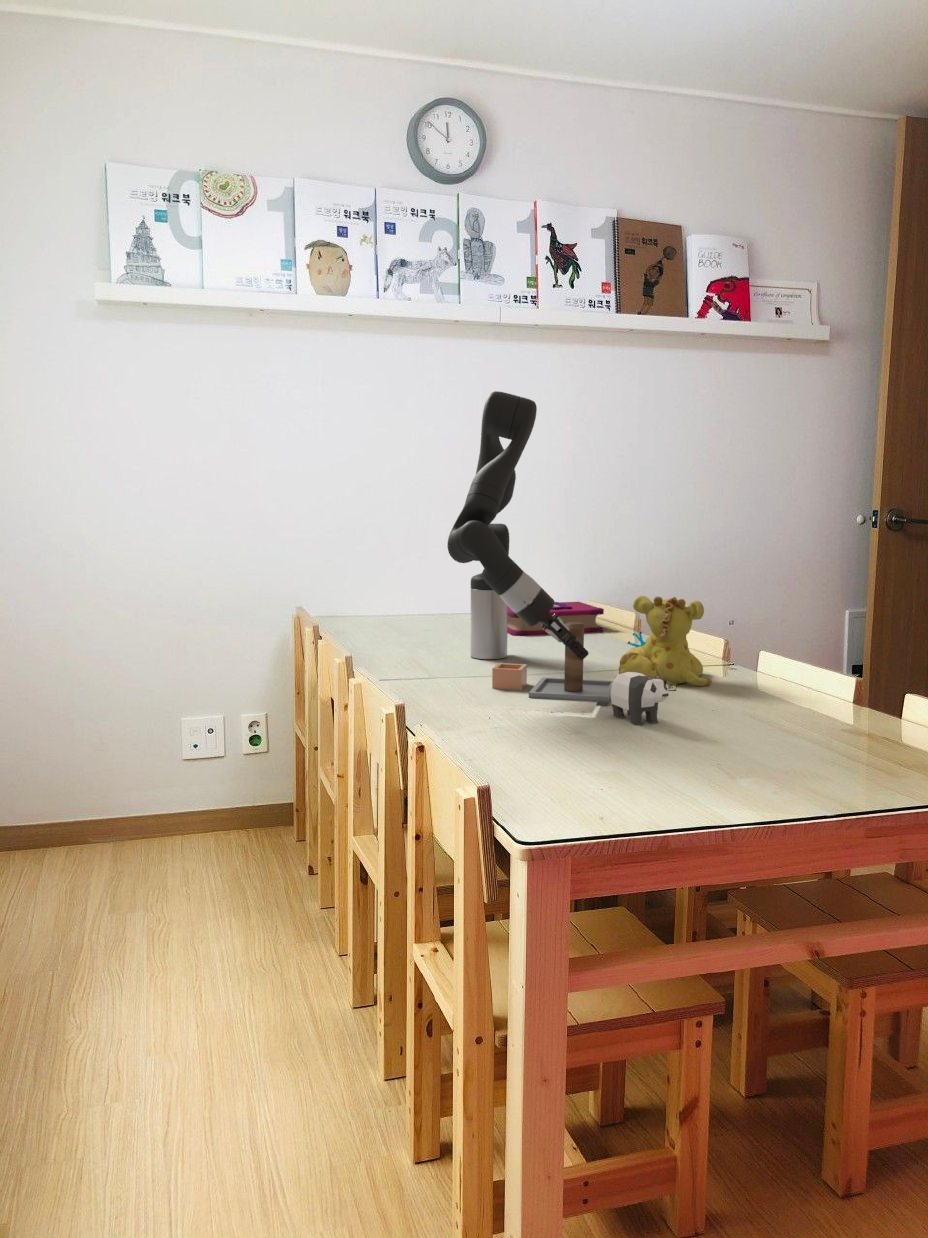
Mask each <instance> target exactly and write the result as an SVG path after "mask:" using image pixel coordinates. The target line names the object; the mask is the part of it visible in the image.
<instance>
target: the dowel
mask: <svg viewBox="0 0 928 1238" xmlns="http://www.w3.org/2000/svg"><path fill="white" fill-rule="evenodd" d="M566 626H567V627H568V628H569V629H570V630H571V634H572V635H573V636H575V637H576V639H577V641H578V642H579V643H580V644H581V645H582V646H583V647H584V644H585V633H584V623H579V622H568V623H566ZM569 638H570V636H569V635H567V636H566V637H565V642H566V641H567V640H568V639H569ZM584 648H585V647H584ZM563 678H564V691H567V692H581V691H583V679H584V659H583V660H581V659H579V658H578V657H577V656H576V655H575V654H574V653H573V652H572V651H571V650H570V649H569V648H568V647H566V646H565V645H564V677H563Z"/></svg>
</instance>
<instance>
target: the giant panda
mask: <svg viewBox="0 0 928 1238" xmlns="http://www.w3.org/2000/svg"><path fill="white" fill-rule="evenodd" d="M659 678H660V675H656V676H655V677H654V679H652V677H651V676H648V677H647V676H645V675H643V674H641V673H637V672H626V673H622V674H619V673H618V675H616V677H615V678H614V680H612V681H613V683H612V688H611V701H610V703H611V706H612V711H613V712H612V713H613V717H615V718H618V719H625V718H626V714H625V712H624V710H627V715H628V716H629V717H630V718H629V719H630V723H631V724H632V725H635V726H637V725H640V726H644V722H643V720H642V716H643V714H644V712H645V722H646V723H649V722H650V723H649V724H652V723H655V724H659V719H658V710H659V703H661V702H664V701H665V700H667V699H668V698H669V693H668V691H667V687H666V682H664V681H663V680H661V679H659Z"/></svg>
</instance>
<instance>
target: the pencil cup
mask: <svg viewBox="0 0 928 1238" xmlns="http://www.w3.org/2000/svg"><path fill="white" fill-rule="evenodd" d="M491 674H492V677H491V679H492V681H491V686H492V687H491V688H492V689H496V690H513V691H514V690H515V691H516V690H517V691H522V690H523V688H525V687H526V685H527V682H528V677H527V676H528V664H526V663H525V664H524V663H523V664H521V663H502V662H500V663H499V662H498V663H497V664H496V665H494V667H492V671H491Z"/></svg>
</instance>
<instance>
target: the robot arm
mask: <svg viewBox="0 0 928 1238" xmlns="http://www.w3.org/2000/svg"><path fill="white" fill-rule="evenodd" d="M537 411H538V409H537V404H536V402H535V401H534V400H532V399H530V398H526V397H523V396H519V395H516V394H512V393H509V392H508V393H507V392H503V391H493V392H490V393H489V394H488V396H487V397H486V400H485V402H484V405H483V410H482V417H481V428H480V429H481V430H480V432H481V433H480V435H481V436H480V447H479V455H478V461H477V466H476V471H475V475H474V477H473V479H472V480H471V483H470V486H469V490H468V493H467V495H466V499H465V503H464V505H463V508H462V510H461V511H460V513H459V514H458V516H457V518H456V520H455V522H454V524H453V526H452V528H451V530H450V532H449V536H448V537H447V539H448V540H447V550H448V554H449V556H450V557H451V559H453V560H454V561H455V562H457V563H459V564H467V563H471V562H473V561H474V562H475V561H476V562H480V564H481V566H482V567H483V570H482V572H480V573H478V574H476V575H473V576H472V577H471V578H470V657H471V658H473V659H480V660H498V659H504V658H505V659H506V658H507V657H508V633H507V623H508V607H509V608H510V609H511V610H512V611H513V612H514V613H515V614H516V615H517V616H518V617H519V618H520V619H521V620H522V621H523V622H524V623H525V624H526V625H527V626H529V627H531V626H534V625H536V624H537V623H538V622H539V621H540V622H541V623H542V624H543V625H542V626H541V627H542V628H543V629H544V630H545V631H546V632H547V633H548V635H550V636H551V637H552V638H554V639H555V640H556V641H557V642H558V643H562V644H563V645H564V647H565V646H566V647H568V648H569V649H570V650H571V651H572V652H573V653H574V654H575V655H576V656H577V657H578V658H579V659H581V660H583V661H584V659H585V658H587V656H589V650H587V649H586V648H585V647H583V646H582V645H581V644H580V643H579V642H578V641H577V639H576V637H575V636H573V635H572V634H571V630H570V629H569V628H568V627H567V626H566V625H565V624H564V623H563V621H562V620H561V619H560V618H559V617H558V616H557V615H556V614H555V613H554V614H553V615H551V614H550V610H551V609H552V608H553V606H554V604H555V602H556V601H555V600H554V598H552V596H551V595H549V593H548V592H547V591H546V590H545V589H544V588H542V587H541V585H540V584H539V583H538V582H537V581H536V580H535V579H534V578H532V577H531V576H530V575H529V574H527V573H526V571H524V569H522V568H521V567H520V566H519V565H518V564H517V563H516V562H515V560H513V559H512V558H511V557H510V531H509V528H508V526H507V525H506V524H505V523H492V522H493V521H495V519H496V517H497V515H498V514H499V513H501V512H502V511H503V510H504V509H505V508H506V507H507V505H508V504H510V502H511V500H512V498H513V496H514V490H515V484H516V479H517V476H516V475H517V474H516V467H517V465H518V463H519V461H520V459H521V457H522V455H523V452H524V451H525V449H526V446H527V443H528V441H529V439H530V437H531V434H532V432H533V429H534V427H535V422H536V418H537ZM500 438H502V439H503V438H504V439H507V440H511V441H510V442H509V444H508V445H507V447H506V448H505V449H504V447H503V445H502V443H501V440H500ZM567 635H569V636H570V638H569V639H568V640H567V641H566V642H565V637H566V636H567Z"/></svg>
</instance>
